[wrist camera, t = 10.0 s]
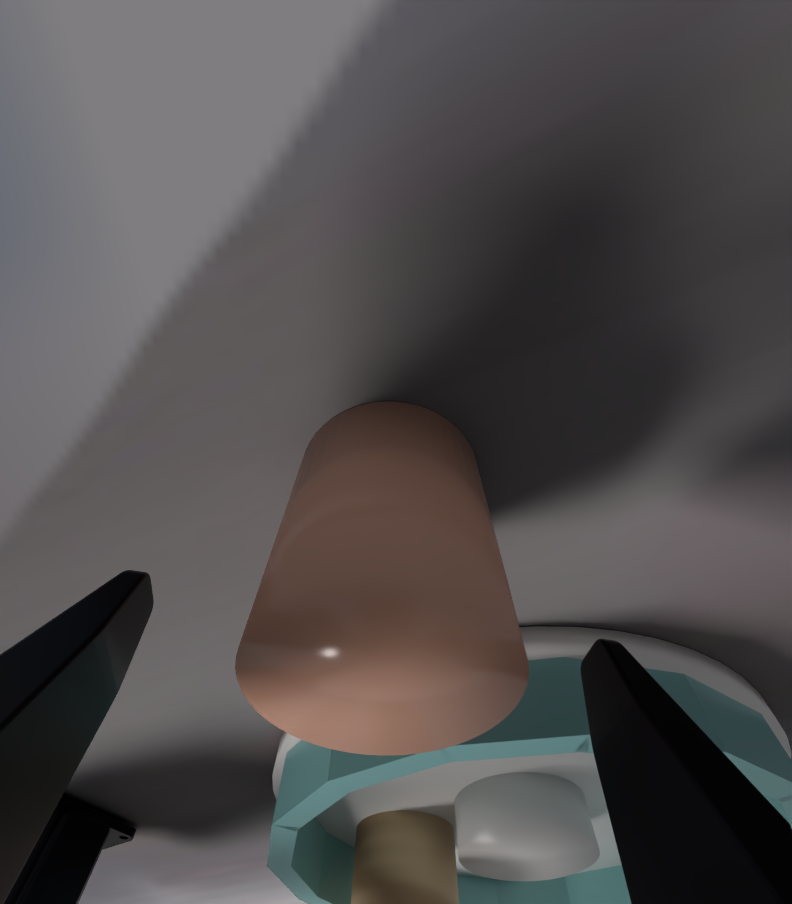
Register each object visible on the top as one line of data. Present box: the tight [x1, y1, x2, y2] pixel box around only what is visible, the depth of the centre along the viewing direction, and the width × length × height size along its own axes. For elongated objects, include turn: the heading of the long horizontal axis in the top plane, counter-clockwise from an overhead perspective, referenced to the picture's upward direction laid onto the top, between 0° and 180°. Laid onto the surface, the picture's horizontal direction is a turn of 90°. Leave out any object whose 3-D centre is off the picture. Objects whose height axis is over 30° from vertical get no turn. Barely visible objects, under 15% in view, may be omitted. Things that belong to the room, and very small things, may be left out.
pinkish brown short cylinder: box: [235, 401, 529, 756], centre depth 10 cm, size 5×5×6 cm
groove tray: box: [267, 626, 792, 904], centre depth 21 cm, size 23×23×4 cm
